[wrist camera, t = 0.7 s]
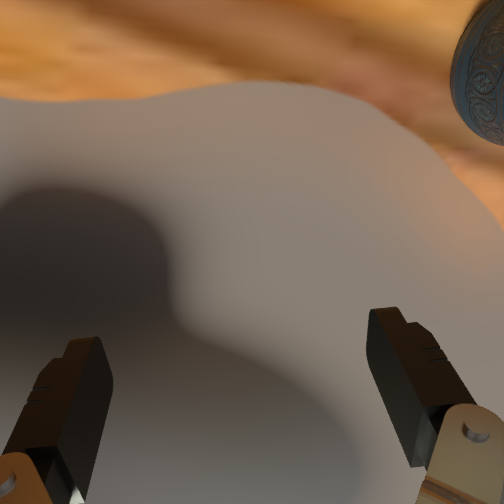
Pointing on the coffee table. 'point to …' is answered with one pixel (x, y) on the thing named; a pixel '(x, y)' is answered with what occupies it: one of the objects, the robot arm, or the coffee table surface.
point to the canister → (481, 73)
